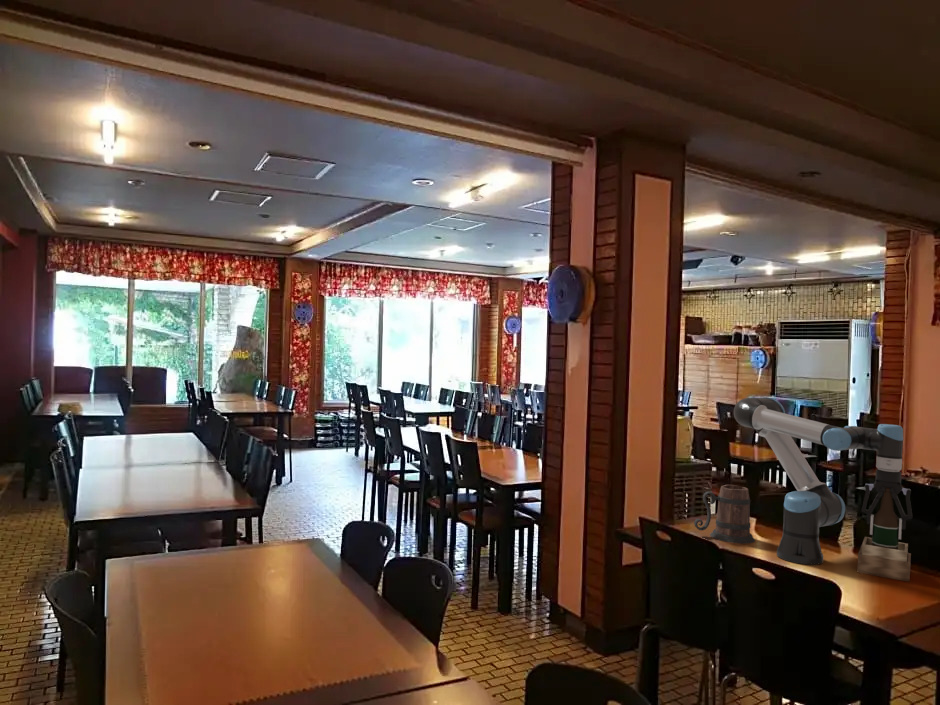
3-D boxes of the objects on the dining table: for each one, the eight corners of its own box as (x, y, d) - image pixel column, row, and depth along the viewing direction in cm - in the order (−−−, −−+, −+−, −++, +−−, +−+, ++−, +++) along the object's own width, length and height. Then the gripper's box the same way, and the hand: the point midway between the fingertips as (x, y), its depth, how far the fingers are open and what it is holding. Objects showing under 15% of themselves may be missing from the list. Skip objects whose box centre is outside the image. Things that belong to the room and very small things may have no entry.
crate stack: (857, 572, 237) (858, 544, 237) (860, 561, 249) (861, 535, 249) (909, 581, 229) (910, 553, 228) (910, 570, 241) (911, 543, 241)
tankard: (745, 532, 284) (747, 484, 284) (762, 544, 267) (764, 492, 267) (688, 530, 285) (690, 481, 285) (700, 541, 268) (703, 489, 268)
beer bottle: (896, 556, 241) (899, 486, 241) (899, 561, 234) (902, 490, 234) (870, 552, 244) (873, 484, 244) (872, 558, 237) (875, 487, 237)
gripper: (853, 467, 241) (850, 533, 241) (924, 475, 230) (921, 544, 230) (855, 464, 247) (852, 528, 248) (924, 472, 236) (920, 539, 237)
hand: (885, 536), depth 239 cm, fingers closed on beer bottle, 8 cm apart
